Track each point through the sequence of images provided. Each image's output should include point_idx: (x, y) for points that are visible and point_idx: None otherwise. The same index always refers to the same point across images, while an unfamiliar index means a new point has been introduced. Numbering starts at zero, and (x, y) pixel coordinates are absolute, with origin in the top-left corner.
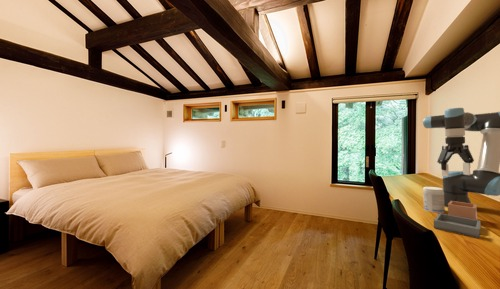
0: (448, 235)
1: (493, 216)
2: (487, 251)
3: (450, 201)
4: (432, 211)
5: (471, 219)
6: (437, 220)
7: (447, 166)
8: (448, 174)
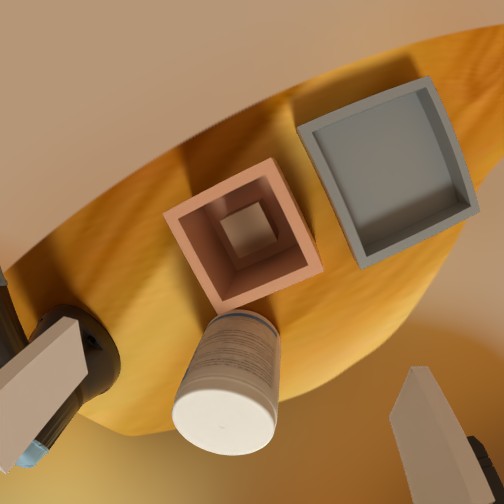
0: (481, 143)
1: (73, 221)
2: (482, 42)
3: (240, 303)
4: (277, 333)
5: (319, 152)
6: (473, 202)
7: (476, 472)
8: (420, 383)
